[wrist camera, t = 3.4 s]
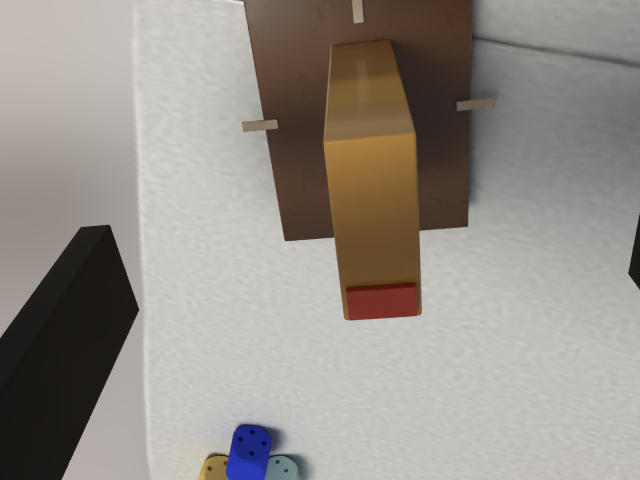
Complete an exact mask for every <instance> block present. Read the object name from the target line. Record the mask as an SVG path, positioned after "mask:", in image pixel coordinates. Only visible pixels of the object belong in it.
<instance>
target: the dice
mask: <svg viewBox="0 0 640 480" xmlns="http://www.w3.org/2000/svg"><path fill="white" fill-rule="evenodd" d="M270 447H271V437H270V436H269V434H268V433H267V432H266V431H265V430H263V429H261V428H259V427H256V426H244V427H241V428H239V429H237V430H236V431H235V432H234V434H233V439H232V444H231V449H230V454H229V458H228V457H225V456H214V457H211V458H209V459H207V460H205V462H204V464H203V466H202V469H201V472H200V475H199V479H198V480H299V474H298V468H297V465H296V464H295V462H294V461H293V460H291V459H290V458H288V457H285V456H274V457H271V458H269V454H270Z"/></svg>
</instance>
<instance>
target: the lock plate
mask: <svg viewBox="0 0 640 480" xmlns="http://www.w3.org/2000/svg"><path fill="white" fill-rule="evenodd" d="M243 1H244V7H245V13H246V18H247V24H248V30H249V36H250V42H251V48H252V53H253V59H254V65H255V71H256V77H257V82H258V88H259V94H260V100H261V106H262V112H263V117H264V120H258V121H248V122H242V126H243V131H244V132H247V131H257V130H266V135H267V141H268V147H269V152H270V158H271V164H272V170H273V176H274V181H275V187H276V193H277V199H278V205H279V211H280V216H281V222H282V228H283V234H284V240H285V241H296V240H308V239H321V238H333V237H334V229H333V221H332V212H331V204H330V195H329V187H328V179H327V170H326V162H325V154H324V145H323V140H324V127H325V114H326V100H327V87H328V74H329V61H330V48H331V46H336V45H345V44H354V43H364V42H373V41H382V40H390V41H391V43H392V47H393V51H394V54H395V58H396V62H397V66H398V69H399V73H400V77H401V80H402V84H403V88H404V91H405V95H406V99H407V102H408V106H409V110H410V113H411V117H412V121H413V125H414V128H415V132H416V144H417V175H418V207H419V231H421V230H434V229H446V228H459V227H468V206H469V152H470V110H474V109H484V108H494V98H493V97H492V98H482V99H472V100H470V97H471V43H472V0H243Z"/></svg>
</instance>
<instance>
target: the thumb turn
mask: <svg viewBox="0 0 640 480" xmlns="http://www.w3.org/2000/svg"><path fill="white" fill-rule="evenodd" d="M323 145H324V154H325V162H326V170H327V179H328V187H329V195H330V204H331V212H332V221H333V229H334V237H335V246H336V254H337V262H338V271H339V279H340V287H341V296H342V304H343V313H344V318H345V320H364V319H379V318H394V317H409V316H417V315H421V313H422V301H421V270H420V238H419V207H418V175H417V144H416V132H415V128H414V125H413V121H412V117H411V113H410V110H409V106H408V102H407V99H406V95H405V91H404V88H403V84H402V80H401V77H400V73H399V69H398V66H397V62H396V58H395V54H394V51H393V47H392V43H391V41H390V40H382V41H373V42H364V43H354V44H345V45H336V46H331V48H330V61H329V74H328V87H327V100H326V114H325V127H324V140H323Z"/></svg>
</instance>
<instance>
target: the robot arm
mask: <svg viewBox="0 0 640 480" xmlns="http://www.w3.org/2000/svg"><path fill="white" fill-rule="evenodd" d="M628 274H629V275H630V277H631V278H632V279H633V281H634V282H635V284H636V285H637V287H638V288H639V289H640V215H639V220H638V225H637V231H636V236H635V241H634V246H633V252H632V257H631V262H630V267H629V273H628ZM138 311H139V308H138V305H137V302H136V299H135V296H134V293H133V290H132V288H131V285H130V282H129V279H128V276H127V273H126V270H125V267H124V265H123V262H122V259H121V256H120V253H119V250H118V247H117V244H116V241H115V239H114V236H113V233H112V230H111V227H110V225H100V226H90V227H81V228H80V229H79V231H78V232H77V233H76V235H75V236H74V237H73V239H72V240H71V241H70V243H69V244H68V246H67V247H66V248H65V250H64V251H63V252H62V254H61V255H60V257H59V258H58V259H57V261H56V262H55V263H54V265H53V266H52V268H51V269H50V270H49V272H48V273H47V274H46V276H45V277H44V279H43V280H42V281H41V283H40V284H39V286H38V287H37V288H36V290H35V291H34V292H33V294H32V295H31V297H30V298H29V299H28V301H27V302H26V303H25V305H24V306H23V308H22V309H21V310H20V312H19V313H18V315H17V316H16V317H15V319H14V320H13V321H12V323H11V324H10V325H9V327H8V328H7V330H6V331H5V332H4V334H3V335H2V336H1V338H0V480H61V479H62V478H63V475H64V473H65V471H66V469H67V467H68V464H69V462H70V460H71V458H72V456H73V453H74V451H75V449H76V447H77V444H78V443H79V440H80V438H81V436H82V434H83V432H84V429H85V427H86V425H87V423H88V421H89V419H90V416H91V414H92V412H93V410H94V408H95V405H96V403H97V401H98V399H99V397H100V394H101V392H102V390H103V388H104V386H105V384H106V381H107V379H108V377H109V375H110V373H111V370H112V368H113V366H114V364H115V362H116V359H117V357H118V355H119V353H120V351H121V349H122V346H123V344H124V342H125V340H126V337H127V335H128V333H129V331H130V329H131V327H132V324H133V322H134V320H135V318H136V316H137V314H138Z"/></svg>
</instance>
